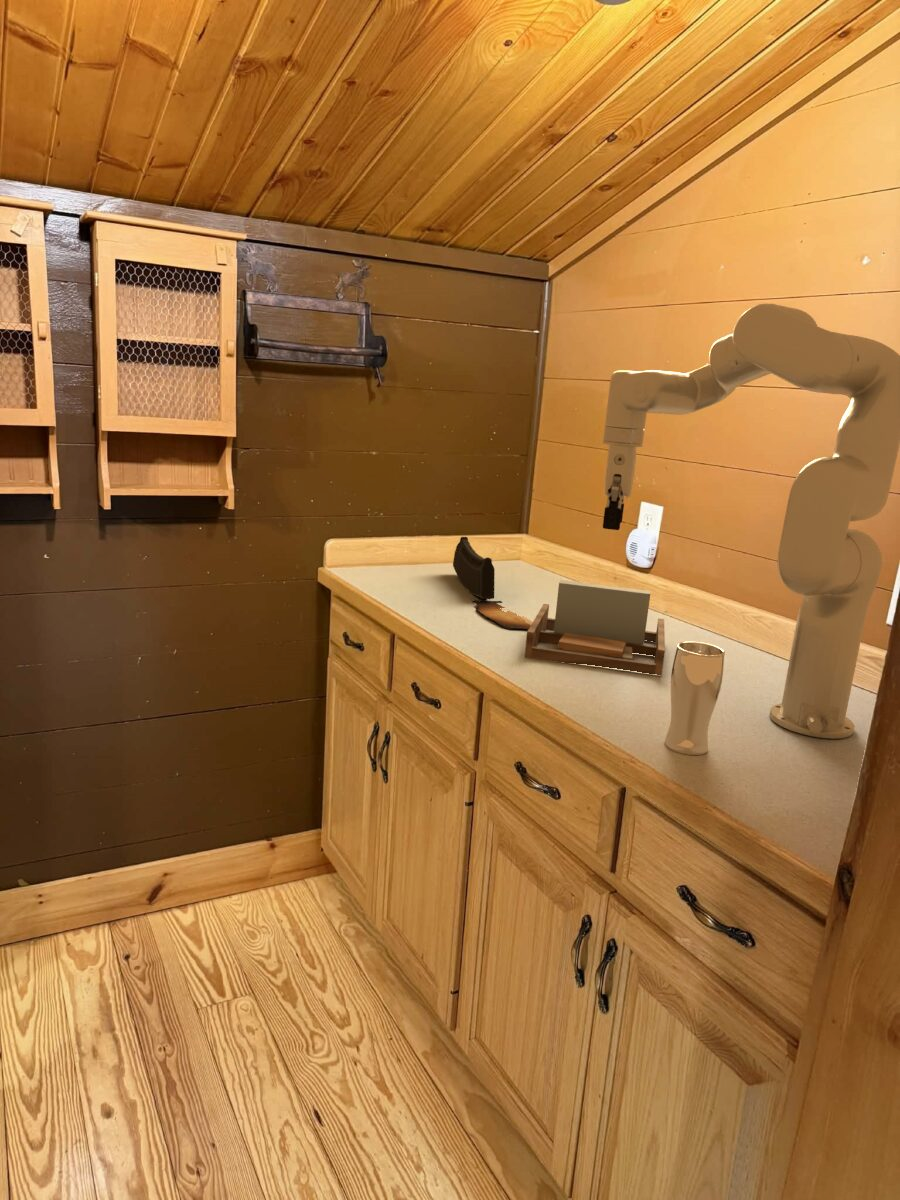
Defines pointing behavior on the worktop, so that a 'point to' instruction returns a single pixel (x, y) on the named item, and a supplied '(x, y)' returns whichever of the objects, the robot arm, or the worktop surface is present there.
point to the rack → (539, 634)
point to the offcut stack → (595, 646)
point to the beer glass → (693, 695)
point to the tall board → (602, 611)
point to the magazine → (474, 570)
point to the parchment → (502, 615)
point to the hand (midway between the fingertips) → (612, 525)
